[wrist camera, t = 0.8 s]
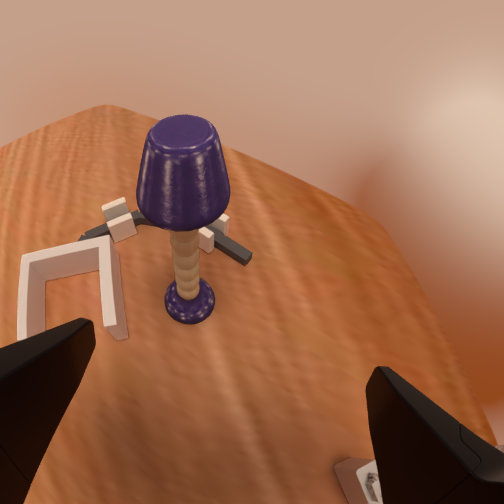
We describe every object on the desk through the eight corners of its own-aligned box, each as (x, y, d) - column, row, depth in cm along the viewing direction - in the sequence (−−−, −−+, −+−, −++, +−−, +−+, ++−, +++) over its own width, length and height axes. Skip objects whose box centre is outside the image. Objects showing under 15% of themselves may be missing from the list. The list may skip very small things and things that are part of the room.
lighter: (332, 465, 19) (382, 475, 12) (351, 456, 19) (406, 460, 13) (359, 528, 16) (411, 553, 9) (376, 518, 16) (433, 537, 9)
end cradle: (128, 338, 23) (116, 324, 20) (37, 352, 21) (17, 340, 18) (119, 256, 27) (109, 234, 24) (37, 273, 25) (21, 255, 22)
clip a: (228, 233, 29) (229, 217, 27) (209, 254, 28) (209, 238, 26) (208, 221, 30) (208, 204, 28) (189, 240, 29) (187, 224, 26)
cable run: (251, 266, 28) (253, 261, 27) (72, 263, 26) (68, 257, 25) (248, 217, 31) (249, 210, 30) (85, 216, 29) (83, 210, 28)
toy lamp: (197, 266, 27) (191, 93, 13) (233, 302, 26) (259, 134, 12) (155, 298, 25) (101, 132, 11) (190, 338, 24) (158, 188, 10)
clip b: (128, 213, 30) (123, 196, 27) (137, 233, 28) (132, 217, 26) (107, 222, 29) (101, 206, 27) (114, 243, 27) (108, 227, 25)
